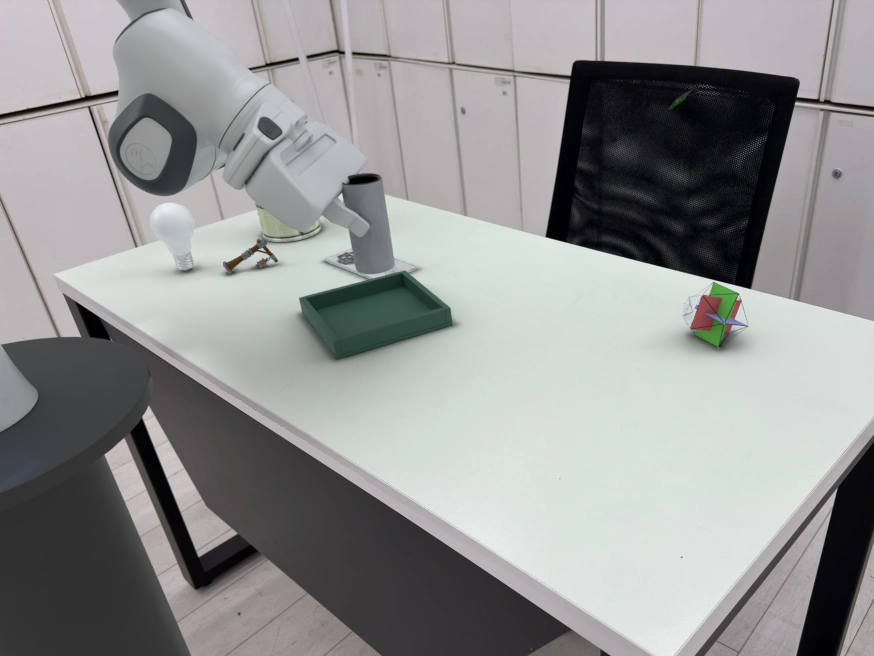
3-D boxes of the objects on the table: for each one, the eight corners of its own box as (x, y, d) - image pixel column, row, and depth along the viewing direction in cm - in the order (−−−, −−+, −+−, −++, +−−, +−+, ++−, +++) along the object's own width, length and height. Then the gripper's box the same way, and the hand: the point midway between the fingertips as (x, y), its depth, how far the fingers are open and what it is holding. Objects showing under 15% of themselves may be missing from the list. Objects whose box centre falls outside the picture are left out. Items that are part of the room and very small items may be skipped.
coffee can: (269, 225, 137) (250, 147, 129) (325, 220, 137) (310, 142, 130) (256, 245, 128) (235, 162, 121) (316, 240, 128) (299, 157, 121)
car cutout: (416, 269, 114) (412, 241, 111) (381, 284, 110) (376, 255, 107) (359, 248, 123) (354, 222, 121) (325, 261, 119) (319, 234, 117)
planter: (378, 277, 84) (363, 186, 78) (347, 271, 86) (331, 182, 80) (402, 262, 87) (390, 174, 82) (372, 257, 89) (358, 171, 84)
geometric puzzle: (728, 301, 92) (702, 262, 87) (770, 320, 87) (744, 280, 82) (690, 344, 92) (662, 308, 87) (730, 367, 87) (702, 329, 82)
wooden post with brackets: (283, 259, 118) (265, 236, 116) (240, 286, 118) (221, 264, 116) (282, 255, 120) (264, 233, 117) (240, 282, 120) (221, 260, 117)
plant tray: (337, 359, 91) (333, 341, 89) (302, 314, 102) (298, 297, 101) (452, 325, 97) (450, 307, 95) (407, 286, 108) (405, 270, 107)
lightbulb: (200, 259, 123) (181, 194, 118) (212, 270, 119) (193, 202, 113) (161, 270, 120) (139, 203, 115) (171, 281, 116) (149, 212, 110)
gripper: (286, 135, 90) (378, 212, 94) (215, 185, 72) (332, 276, 76) (315, 94, 87) (408, 175, 91) (248, 136, 69) (367, 233, 73)
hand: (373, 222), depth 83 cm, fingers closed on planter, 4 cm apart
